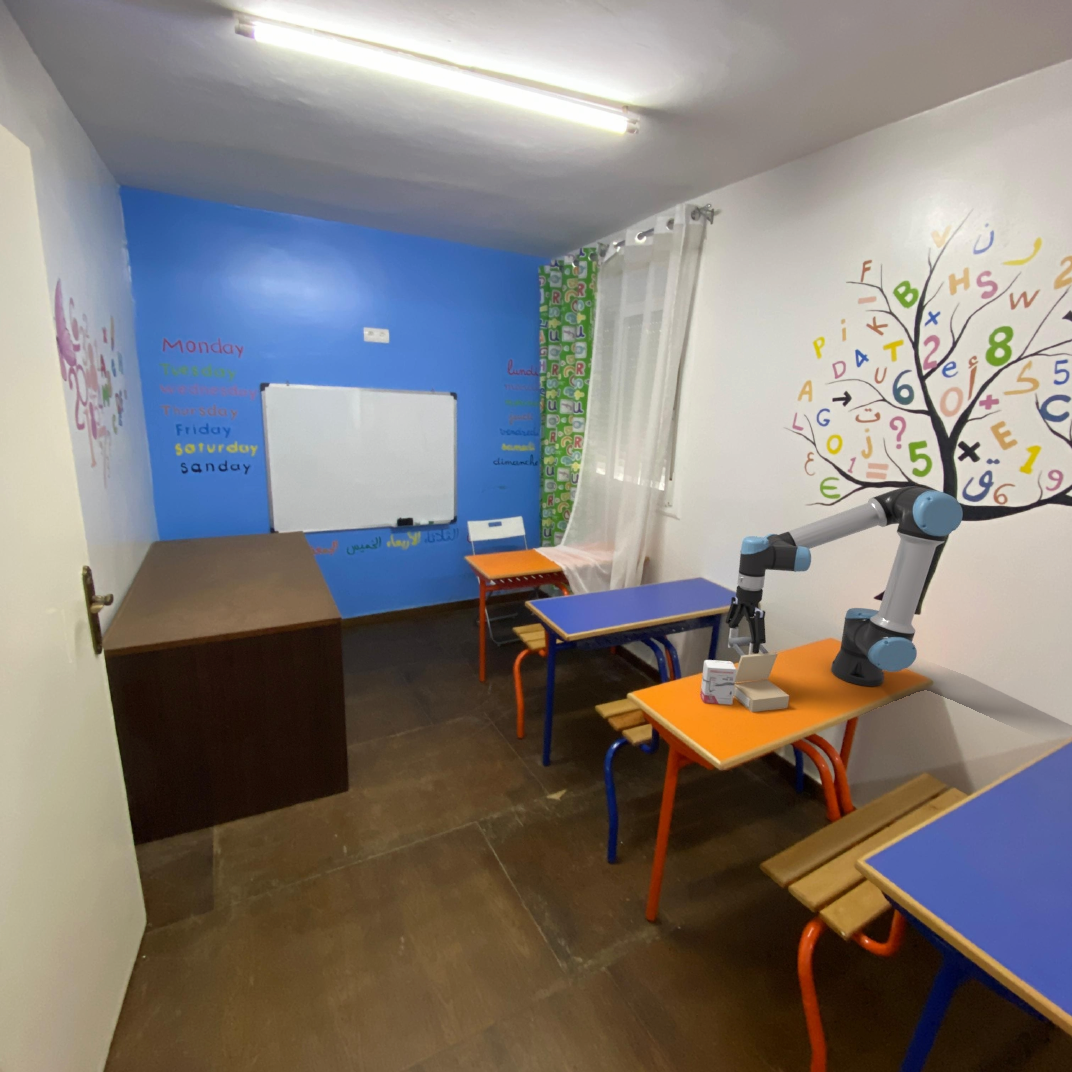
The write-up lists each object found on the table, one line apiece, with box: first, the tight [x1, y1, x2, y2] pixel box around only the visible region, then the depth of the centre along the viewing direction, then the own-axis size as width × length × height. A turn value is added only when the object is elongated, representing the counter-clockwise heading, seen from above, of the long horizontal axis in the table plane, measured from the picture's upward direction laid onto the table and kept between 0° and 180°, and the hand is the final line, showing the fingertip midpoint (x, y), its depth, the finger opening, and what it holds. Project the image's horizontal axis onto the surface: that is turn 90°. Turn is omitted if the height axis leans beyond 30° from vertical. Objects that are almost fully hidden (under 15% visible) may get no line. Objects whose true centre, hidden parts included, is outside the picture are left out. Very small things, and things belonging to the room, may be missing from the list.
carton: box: [733, 679, 790, 713], centre depth 160 cm, size 12×10×4 cm
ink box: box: [700, 659, 737, 706], centre depth 160 cm, size 9×5×12 cm, turn 85°
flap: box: [727, 635, 778, 683], centre depth 166 cm, size 12×10×10 cm
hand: (741, 654), depth 168 cm, fingers open, 10 cm apart
